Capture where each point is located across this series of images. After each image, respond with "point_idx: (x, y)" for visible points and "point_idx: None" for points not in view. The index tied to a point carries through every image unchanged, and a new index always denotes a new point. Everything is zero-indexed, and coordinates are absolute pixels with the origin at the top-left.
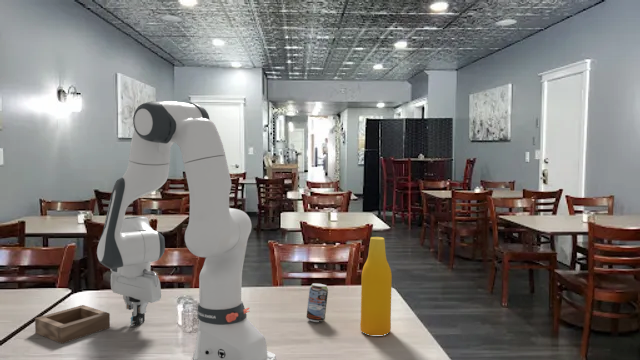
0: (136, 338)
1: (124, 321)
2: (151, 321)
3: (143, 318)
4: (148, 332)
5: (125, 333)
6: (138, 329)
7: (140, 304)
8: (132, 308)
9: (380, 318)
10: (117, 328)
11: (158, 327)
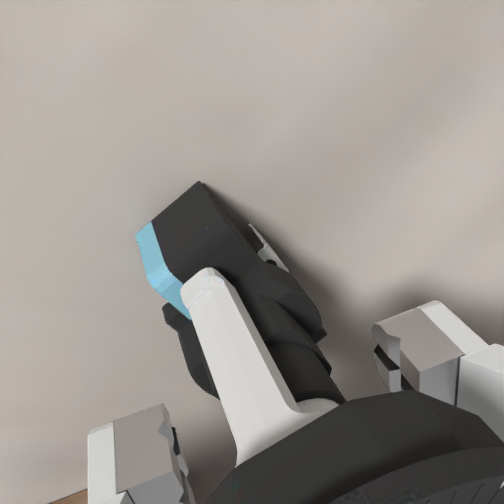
0: (497, 340)
1: (61, 350)
2: (264, 113)
3: (225, 213)
4: (486, 246)
5: (364, 382)
6: (369, 292)
7: (331, 396)
8: (166, 415)
9: None
10: (220, 416)
11: (473, 130)
